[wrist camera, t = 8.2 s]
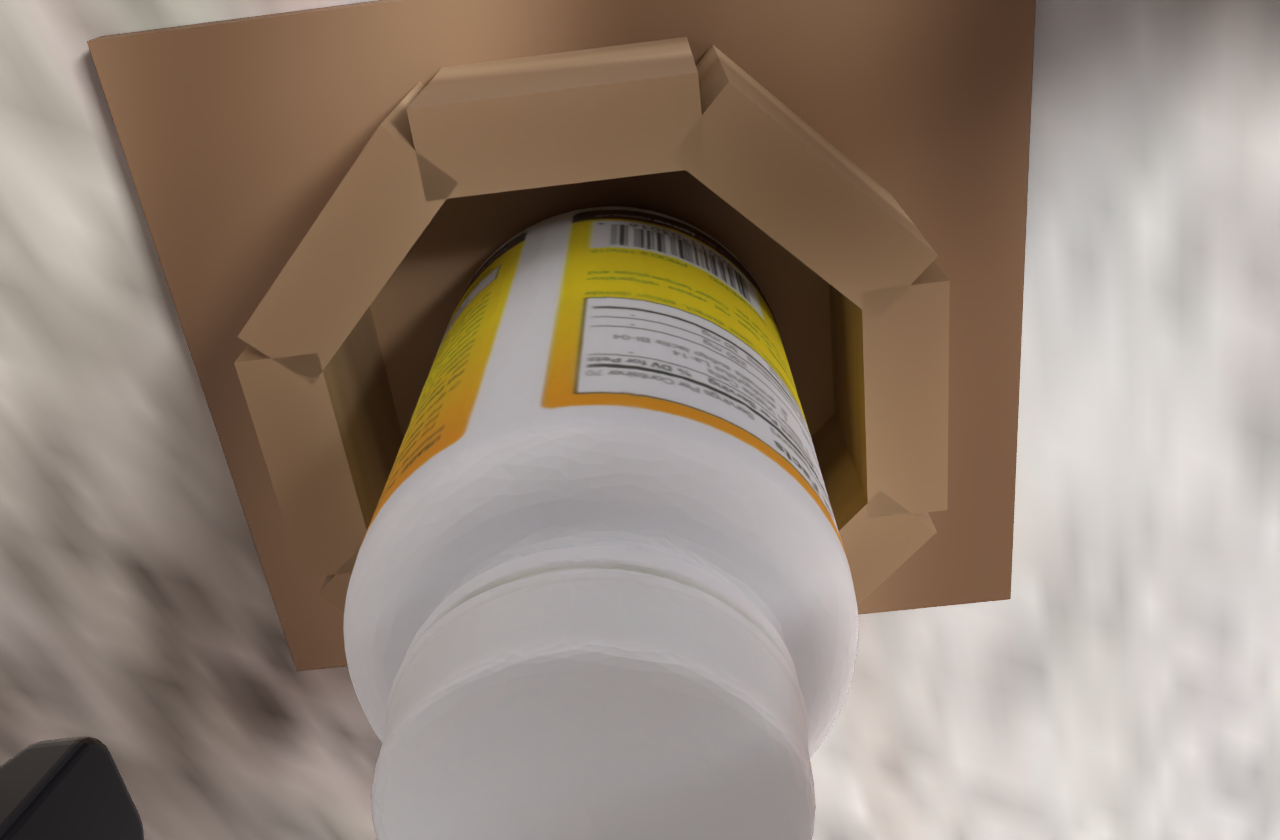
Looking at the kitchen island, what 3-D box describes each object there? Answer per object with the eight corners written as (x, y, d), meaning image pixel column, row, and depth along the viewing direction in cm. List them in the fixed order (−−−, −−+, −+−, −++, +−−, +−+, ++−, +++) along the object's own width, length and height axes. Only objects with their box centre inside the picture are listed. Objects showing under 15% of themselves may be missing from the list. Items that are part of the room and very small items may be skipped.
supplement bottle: (509, 523, 20) (399, 1069, 11) (405, 241, 18) (157, 649, 9) (808, 458, 20) (947, 982, 11) (743, 155, 17) (855, 500, 8)
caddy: (1027, -84, 16) (1122, -68, 13) (1002, 583, 22) (1065, 705, 19) (101, 36, 17) (-18, 78, 14) (303, 654, 22) (250, 785, 19)
